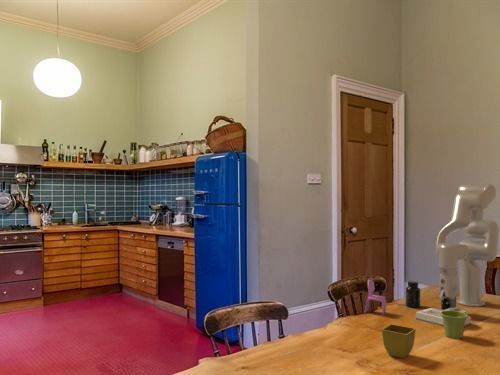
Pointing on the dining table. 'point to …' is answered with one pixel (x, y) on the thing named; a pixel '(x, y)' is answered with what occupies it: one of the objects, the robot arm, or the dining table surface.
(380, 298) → the toy chair
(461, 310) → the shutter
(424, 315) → the socket plate
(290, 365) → the dining table surface
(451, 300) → the plug
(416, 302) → the supplement bottle
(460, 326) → the plant pot
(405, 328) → the flower pot
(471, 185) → the robot arm
